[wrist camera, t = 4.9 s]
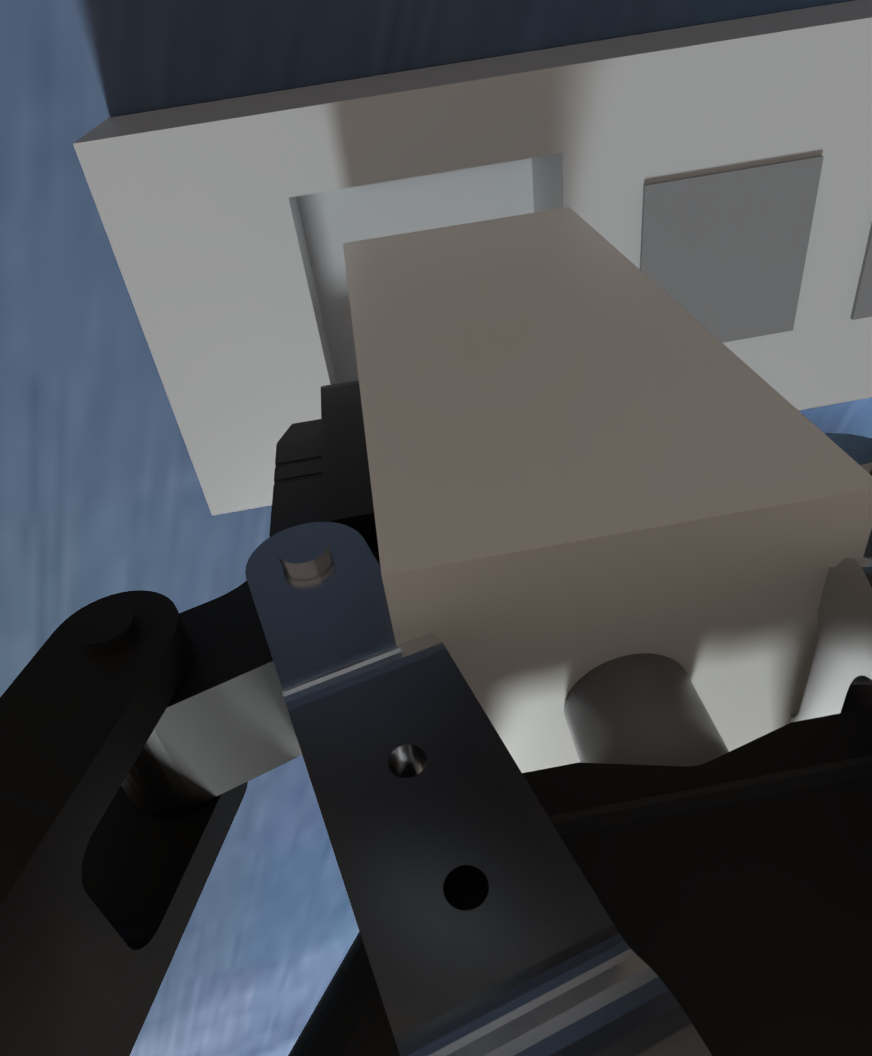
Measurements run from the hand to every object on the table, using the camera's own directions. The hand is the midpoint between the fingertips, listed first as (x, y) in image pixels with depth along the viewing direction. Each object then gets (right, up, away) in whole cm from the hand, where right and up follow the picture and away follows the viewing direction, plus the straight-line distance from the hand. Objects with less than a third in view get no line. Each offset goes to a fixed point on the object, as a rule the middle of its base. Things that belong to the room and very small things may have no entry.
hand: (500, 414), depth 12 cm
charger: (0, +2, +3) cm, 3 cm away
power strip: (+4, +5, +6) cm, 9 cm away
